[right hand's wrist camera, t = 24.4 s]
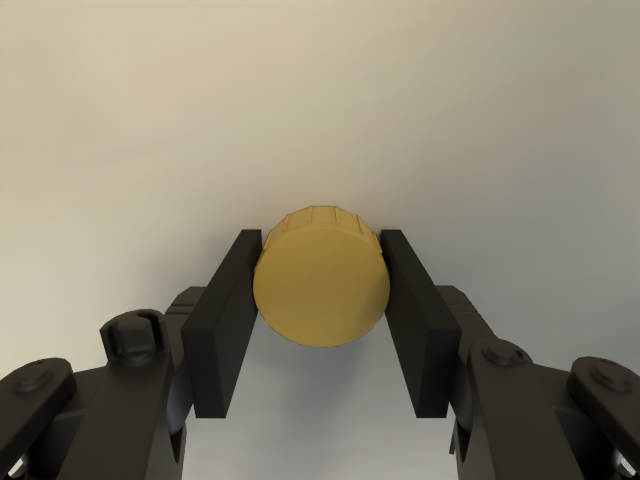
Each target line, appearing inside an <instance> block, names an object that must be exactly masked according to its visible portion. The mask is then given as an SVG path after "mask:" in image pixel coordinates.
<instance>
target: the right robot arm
mask: <svg viewBox="0 0 640 480" xmlns="http://www.w3.org/2000/svg"><path fill="white" fill-rule="evenodd" d="M380 247H381V249H382V252H383V253H382V256H383V259H384V261H385V264H386V267H387V269H388V272H389V277H390V297H389V301H388V304H387V307H386V309H385V311H384V312H385V316H386V319H387V322H388V325H389V329H390V332H391V335H392V339H393V342H394V345H395V348H396V352H397V355H398V358H399V362H400V365H401V368H402V372H403V375H404V378H405V381H406V385H407V388H408V391H409V395H410V398H411V401H412V404H413V408H414V411H415V414H416V418H446V416H447V411H448V405H449V401H450V404H451V406H452V408H453V411H454V413H455V415H456V419H455V424H454V429H453V434H452V439H451V444H450V451H449V454H453V455H454V451H456V460H457V469H458V478H459V480H640V376H638V375H637V374H635V373H634V372H633V371H631V370H630V369H628V368H626V367H624V366H622V365H620V364H618V363H616V362H613V361H610V360H607V359H603V358H597V357H589V356H587V357H581V358H578V359H576V360H575V361H574V362H573V364H572V367H571V370H570V372H568V371H564V370H559V369H554V368H550V367H545V366H541V365H537V364H533V361H532V359H531V358H530V357H529V355H528V354H527V353H526V352H525V351H524V350H522V349H521V348H520V347H518V346H517V345H515V344H513V343H510V342H508V341H506V340H502V339H498V338H497V337H496V335H495V334H494V333H493V331H492V330H491V329H490V327H489V326H488V325H487V323H486V322H485V321H484V319H483V318H482V317H481V315H480V314H479V313H478V311H477V310H476V308H475V307H474V306H473V305H472V303H471V302H470V300H469V299H468V298H467V296H466V295H465V294H464V293H463V292H461V291H460V290H458V289H457V288H455V287H454V286H435V285H434V283H433V281H432V280H431V278H430V277H429V275H428V273H427V272H426V270H425V268H424V267H423V265H422V264H421V262H420V260H419V259H418V257H417V256H416V254H415V252H414V251H413V249H412V247H411V246H410V244H409V243H408V241H407V239H406V238H405V236H404V235H403V233H402V231H401V230H382V231H381V246H380ZM261 252H262V237H261V230H242V231H241V232H240V234H239V236H238V237H237V239H236V240H235V242H234V244H233V245H232V247H231V248H230V250H229V252H228V253H227V255H226V257H225V258H224V260H223V261H222V263H221V265H220V266H219V268H218V269H217V271H216V273H215V274H214V276H213V278H212V279H211V281H210V282H209V284H208V286H207V287H189V288H188V289H186V290H185V291H183V292H182V293H180V294H179V295H178V296H177V297H176V299H175V300H174V301H173V303H172V304H171V306H170V307H169V308H168V309H167V311H166V312H165V314H164V315H163V314H162V313H160V312H159V311H156V310H152V309H139V310H135V311H130V312H126V313H124V314H121V315H119V316H116V317H114V318H113V319H111V320H110V321H108V322H107V323H105V324H104V325H103V327H102V328H101V329H100V330H99V331H100V334H101V338H102V341H103V345H104V348H105V352H106V355H107V359H108V362H107V364H106V366H103V367H99V368H94V369H90V370H85V371H80V372H75V373H73V370H72V367H71V364H70V363H69V362H68V361H67V360H65V359H62V358H47V359H41V360H37V361H35V362H31V363H28V364H26V365H24V366H22V367H20V368H18V369H16V370H14V371H13V372H11V373H10V374H9V375H7V376H6V377H4V378H3V379H2V380H1V381H0V480H181V479H182V470H183V461H184V452H185V443H186V434H187V431H186V424H185V420H186V418H187V416H188V413H189V411H190V409H191V406H192V404H194V410H195V415H196V418H226V415H227V412H228V409H229V405H230V402H231V399H232V396H233V392H234V389H235V386H236V382H237V379H238V376H239V373H240V369H241V366H242V363H243V359H244V356H245V353H246V350H247V346H248V343H249V340H250V337H251V333H252V330H253V327H254V323H255V320H256V317H257V314H258V308H257V305H256V302H255V299H254V293H253V280H254V274H255V272H254V269H255V266H256V264H257V262H258V259H259V257H260V254H261ZM623 457H624V458H625V459H626V460H627V462H628V463H629V464H630V465H631V466H632V468H633V469H634V470H635V471H636V473H635V475H634V476H633V475H631V474H630V473H629V472H628V471H627V470H626V469H625V467H624V466H623V465H622V464H621V460H622V458H623ZM20 458H21V459H22V462H23V464H22V465H21V466H20V467H19V469H18V470H17V471H16V472H15V473H14V474H13V475H11V476H9V474H8V472H9V471H10V470H11V469H12V467H13V466H14V465H15V464H16V463H17V461H18V460H19V459H20Z"/></svg>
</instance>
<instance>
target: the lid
mask: <svg viewBox="0 0 640 480" xmlns="http://www.w3.org/2000/svg"><path fill="white" fill-rule="evenodd" d="M382 253H383V252H382V249H381V247H380V244H379V242H378V239H377V236H376V234H375V232H374V233H372V231H371V230H370V229H369V227H368V226H367V225H366V224H365V223H364V222H363V221H362V220H361V219H360V217H359V216H357V217H356V216H355V215H353V214H351V213H349V212H347V211H344V210H341V209H338V207H336V206H335V208H333V207H324V206H322V207H313V206H310V208H306V209H303V210H299V211H297V212H295V213H293V214H291V215H289V214H288V215H287V216H286V218H285V219H284V220H282V221H281V222H280V223H279V224H278V225H277V226H276V227H275V229H274V230H271V231H270V233H269V235H268V238H267V240H266V242H265V245H264V247H263V250H262V252H261V254H260V257H259V259H258V262H257V264H256V266H255V269H254V272H255V274H254V280H253V293H254V299H255V302H256V305H257V308H258V310H259V312H260V314H261V315H262V317H263V319H264V320H265V321H266V322H267V324H268V325H269V326H270V327H271V328H272V329H273V330H274V331H276V332H277V333H278V334H280V335H281V336H283V337H285V338H286V339H288V340H291V341H293V342H295V343H298V344H302V345H306V346H311V347H333V346H338V345H342V344H346V343H349V342H351V341H354V340H356V339H358V338H360V337H361V336H363V335H364V334H366V333H367V332H368V331H369V330H371V329H372V328H373V327H374V326H375V325H376V323H377V322H378V321H379V320H380V318H381V317H382V315H383V313H384V311H385V309H386V307H387V304H388V301H389V297H390V277H389V272H388V269H387V267H386V264H385V261H384V259H383V256H382Z"/></svg>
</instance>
